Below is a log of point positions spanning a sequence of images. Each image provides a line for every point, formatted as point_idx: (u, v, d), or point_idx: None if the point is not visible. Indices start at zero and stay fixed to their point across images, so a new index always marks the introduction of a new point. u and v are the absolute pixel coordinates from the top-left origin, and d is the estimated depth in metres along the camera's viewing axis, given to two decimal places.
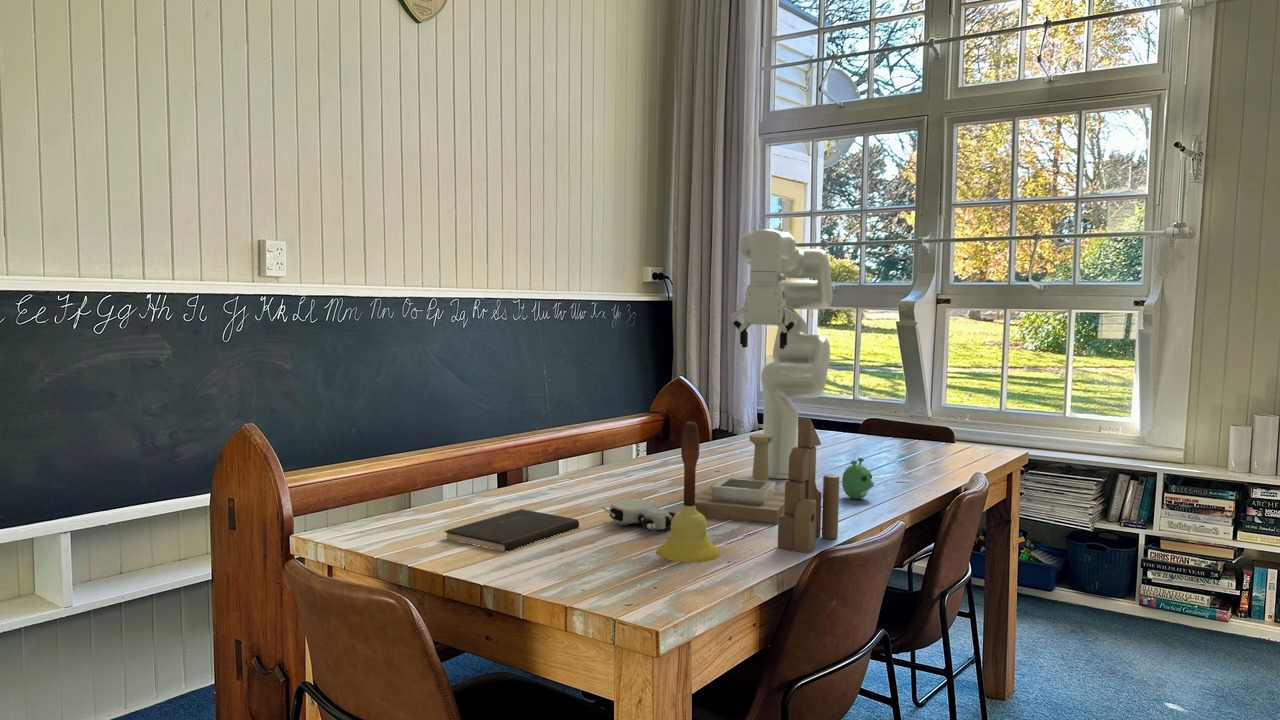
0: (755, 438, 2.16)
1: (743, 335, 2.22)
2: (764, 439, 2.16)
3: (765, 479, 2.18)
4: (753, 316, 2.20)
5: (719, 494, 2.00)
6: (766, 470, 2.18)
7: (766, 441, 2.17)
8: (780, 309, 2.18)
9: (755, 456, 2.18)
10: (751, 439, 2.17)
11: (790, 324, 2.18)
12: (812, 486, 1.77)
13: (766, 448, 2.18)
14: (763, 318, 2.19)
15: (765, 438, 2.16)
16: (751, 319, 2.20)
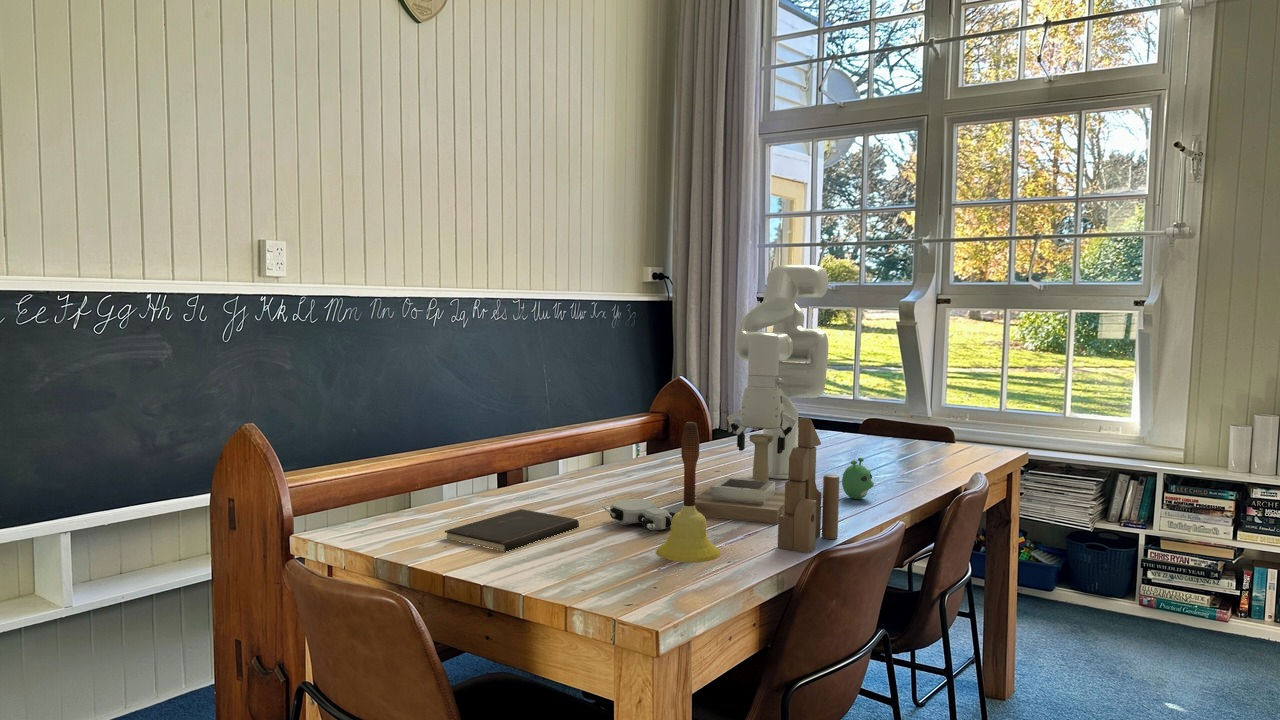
0: (755, 438, 2.16)
1: (740, 438, 2.19)
2: (764, 439, 2.16)
3: (765, 479, 2.18)
4: (750, 420, 2.17)
5: (719, 494, 2.00)
6: (766, 470, 2.18)
7: (766, 441, 2.17)
8: (778, 414, 2.15)
9: (755, 456, 2.18)
10: (751, 439, 2.17)
11: (788, 429, 2.15)
12: (812, 486, 1.77)
13: (766, 448, 2.18)
14: (760, 422, 2.16)
15: (765, 438, 2.16)
16: (748, 423, 2.17)
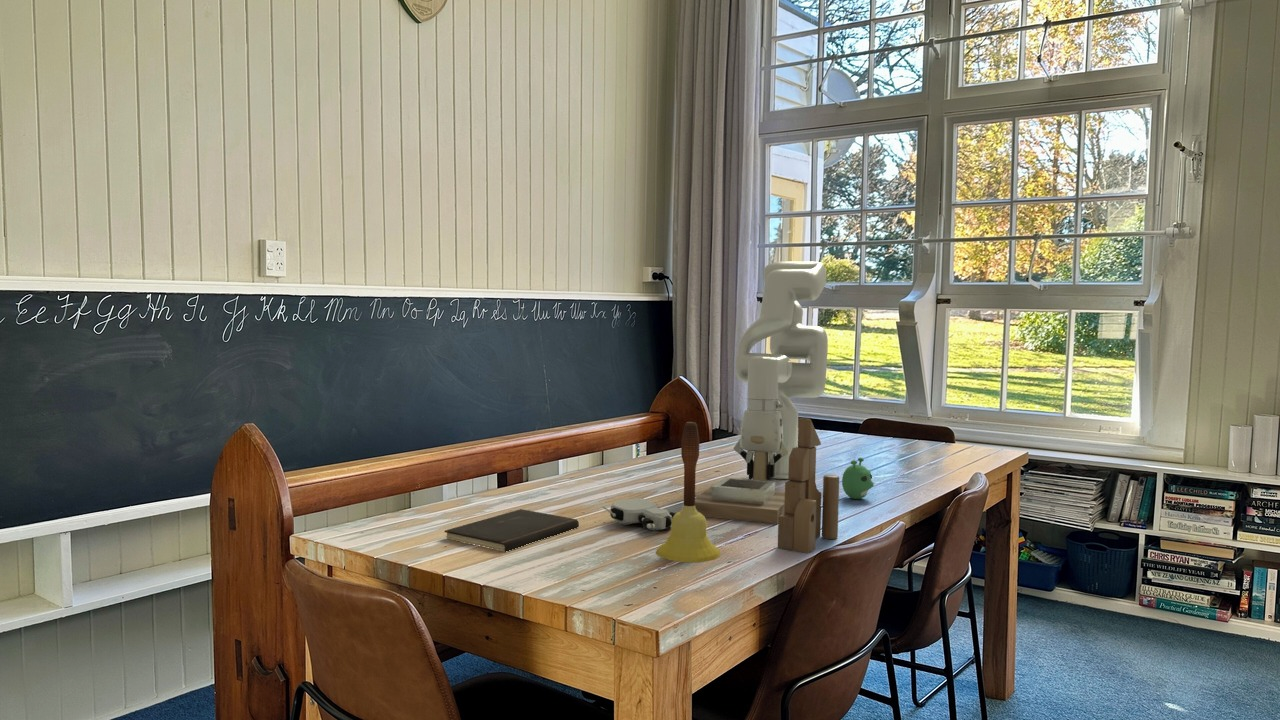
0: (755, 438, 2.16)
1: (750, 467, 2.19)
2: None
3: (765, 479, 2.18)
4: (750, 443, 2.18)
5: (719, 494, 2.00)
6: (766, 470, 2.18)
7: None
8: (777, 437, 2.15)
9: (755, 456, 2.18)
10: (751, 439, 2.17)
11: (777, 456, 2.17)
12: (812, 486, 1.77)
13: None
14: (760, 445, 2.17)
15: None
16: (748, 446, 2.18)
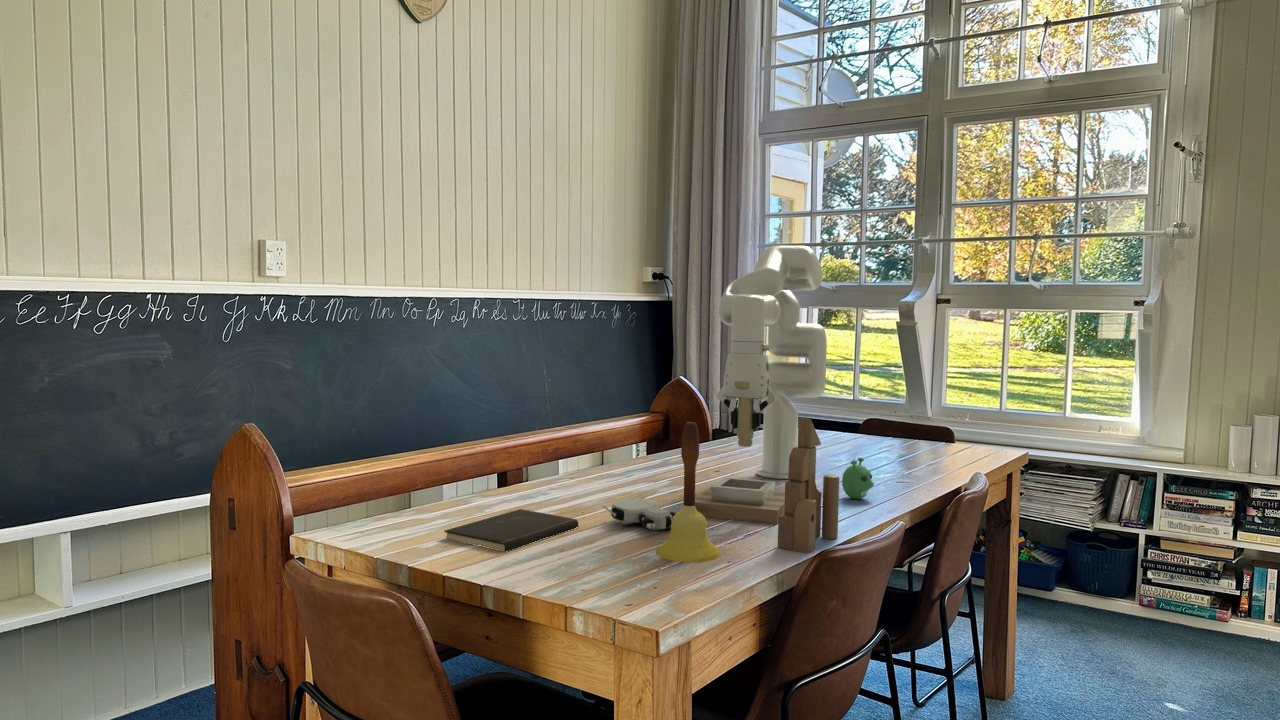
0: (739, 383, 2.00)
1: (734, 415, 2.02)
2: None
3: (750, 428, 2.01)
4: (734, 389, 2.01)
5: (719, 494, 2.00)
6: (751, 418, 2.01)
7: None
8: (763, 383, 1.99)
9: (739, 403, 2.02)
10: (735, 385, 2.01)
11: (763, 403, 2.00)
12: (812, 486, 1.77)
13: None
14: (745, 392, 2.00)
15: None
16: (732, 392, 2.01)
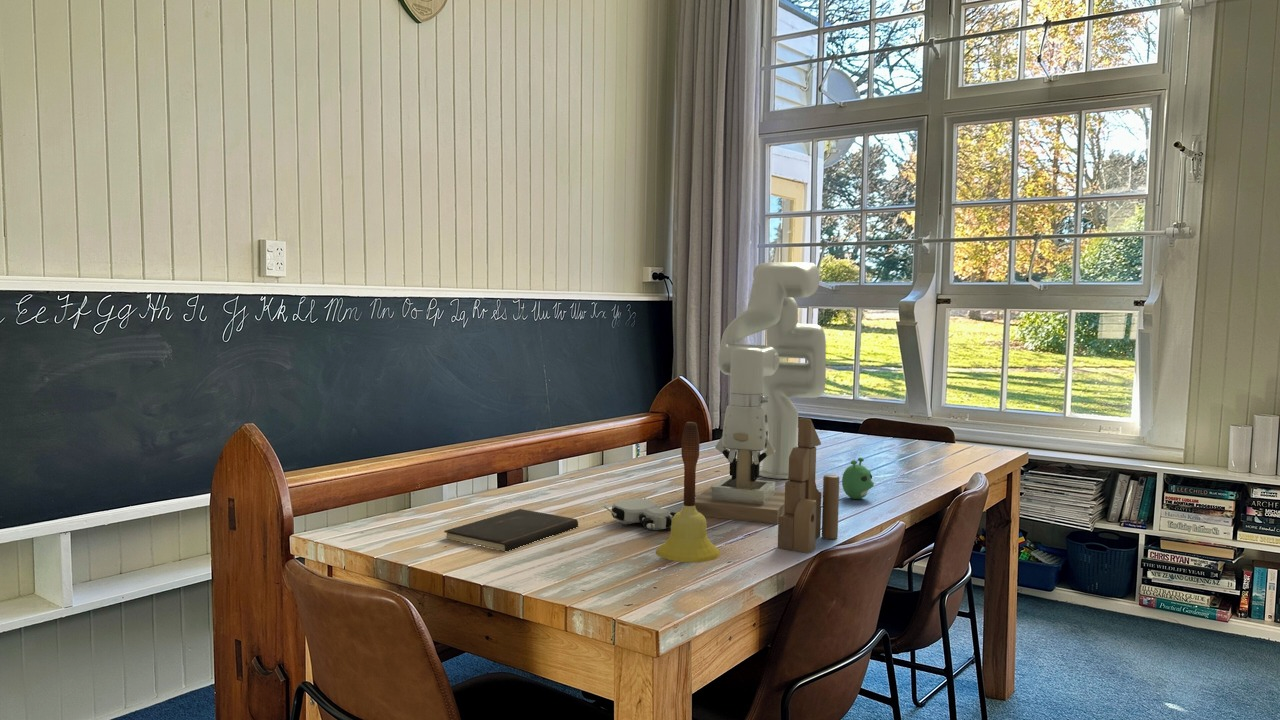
0: (738, 435, 2.00)
1: (733, 467, 2.03)
2: None
3: (749, 480, 2.02)
4: (733, 441, 2.02)
5: (719, 494, 2.00)
6: (750, 470, 2.02)
7: None
8: (762, 435, 1.99)
9: (738, 455, 2.02)
10: (734, 436, 2.01)
11: (762, 455, 2.01)
12: (812, 486, 1.77)
13: None
14: (744, 444, 2.01)
15: None
16: (731, 444, 2.02)
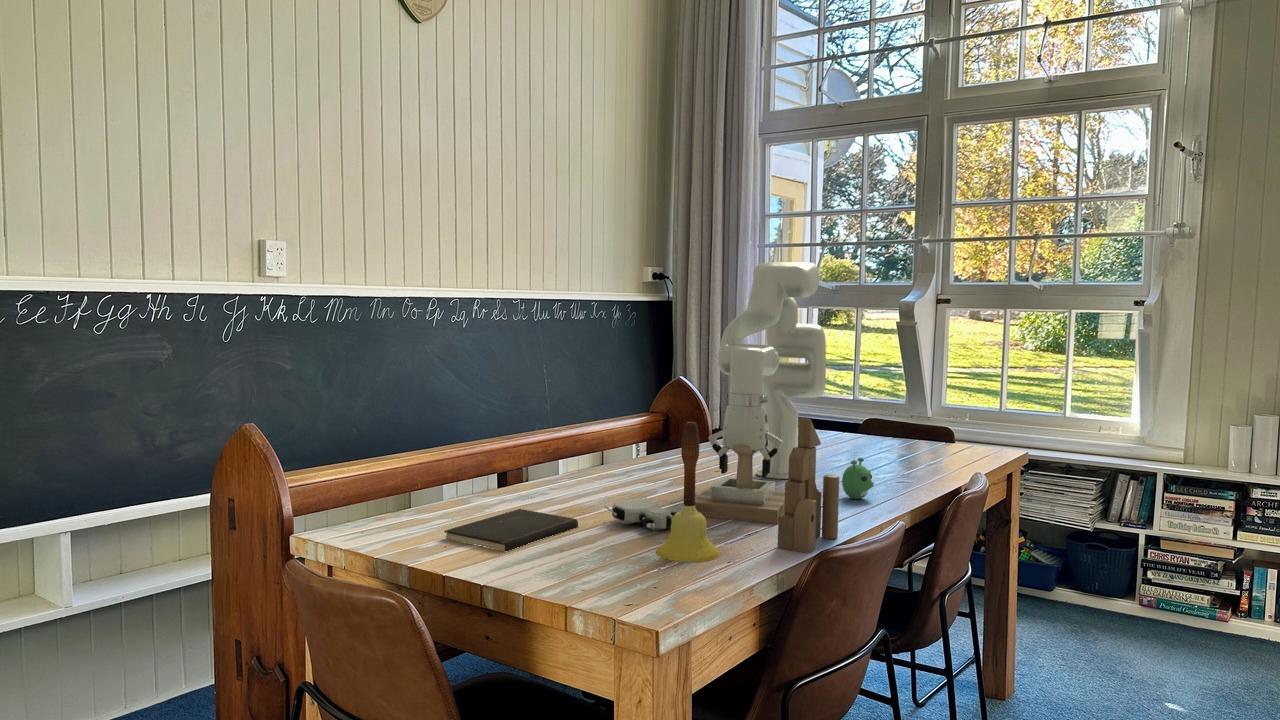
0: (738, 448, 2.00)
1: (722, 460, 2.04)
2: (748, 449, 2.00)
3: None
4: (733, 441, 2.02)
5: (719, 494, 2.00)
6: (750, 483, 2.02)
7: (750, 452, 2.01)
8: (762, 435, 2.00)
9: (738, 467, 2.03)
10: (734, 449, 2.01)
11: (773, 451, 2.00)
12: (812, 486, 1.77)
13: (750, 459, 2.02)
14: (744, 444, 2.01)
15: (749, 448, 2.01)
16: (731, 444, 2.02)
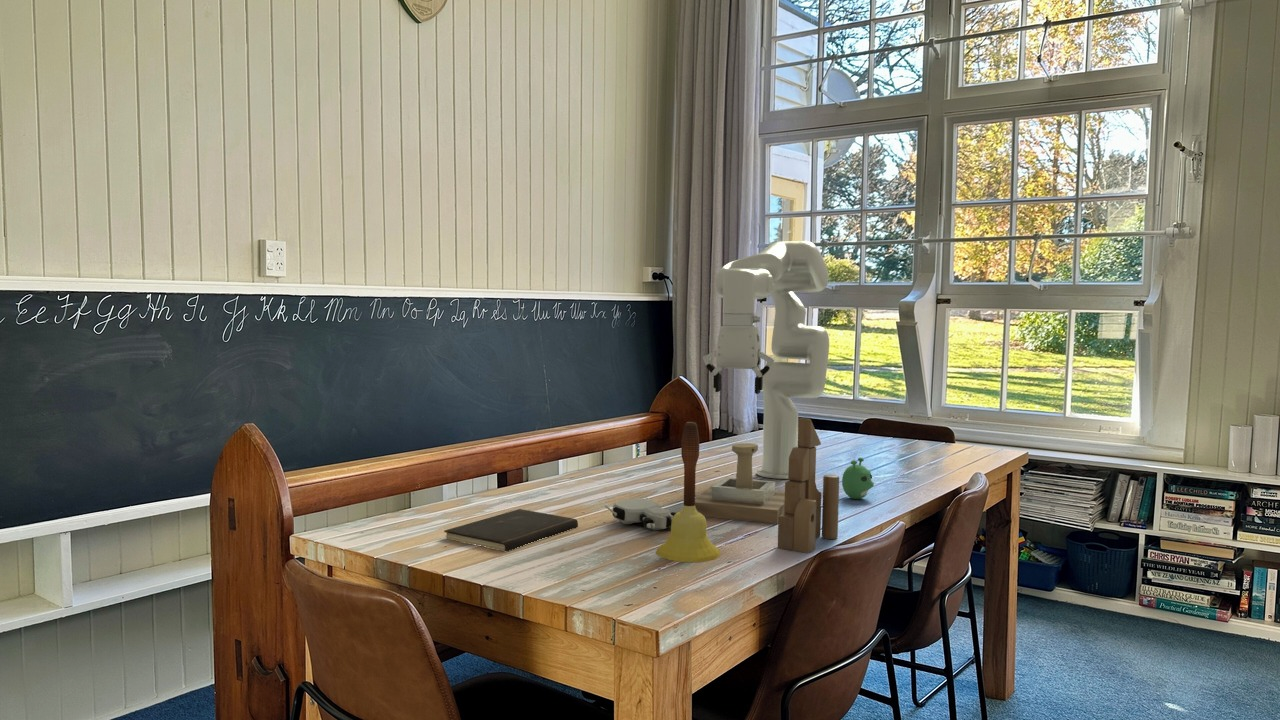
0: (738, 448, 2.01)
1: (716, 379, 2.12)
2: (748, 449, 2.01)
3: None
4: (726, 360, 2.10)
5: (719, 494, 2.00)
6: (750, 483, 2.02)
7: (750, 451, 2.01)
8: (754, 353, 2.08)
9: (738, 467, 2.03)
10: (734, 449, 2.02)
11: (765, 368, 2.08)
12: (812, 486, 1.77)
13: (750, 459, 2.02)
14: (737, 362, 2.09)
15: (749, 448, 2.01)
16: (724, 363, 2.10)
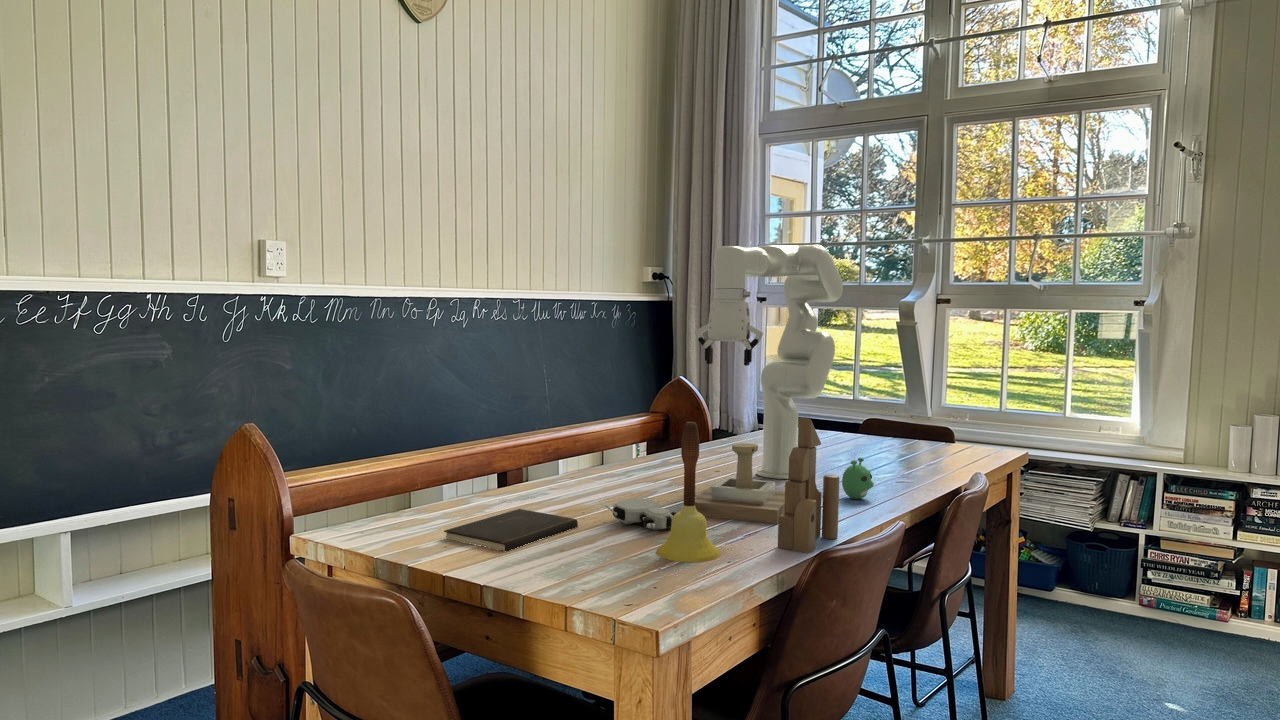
0: (738, 448, 2.01)
1: (708, 352, 2.21)
2: (748, 449, 2.01)
3: None
4: (717, 333, 2.19)
5: (719, 494, 2.00)
6: (750, 482, 2.02)
7: (750, 451, 2.01)
8: (744, 326, 2.17)
9: (738, 467, 2.03)
10: (734, 449, 2.02)
11: (754, 341, 2.17)
12: (812, 486, 1.77)
13: (750, 459, 2.02)
14: (727, 335, 2.18)
15: (749, 448, 2.01)
16: (715, 336, 2.20)
